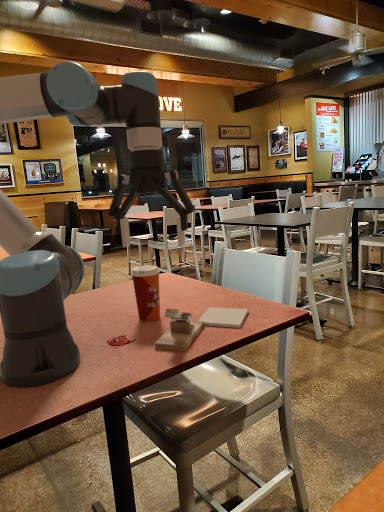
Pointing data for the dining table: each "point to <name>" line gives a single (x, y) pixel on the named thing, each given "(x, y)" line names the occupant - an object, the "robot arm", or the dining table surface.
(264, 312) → the dining table surface
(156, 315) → the paper cup
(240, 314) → the tile
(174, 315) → the lever
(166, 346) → the lever base
